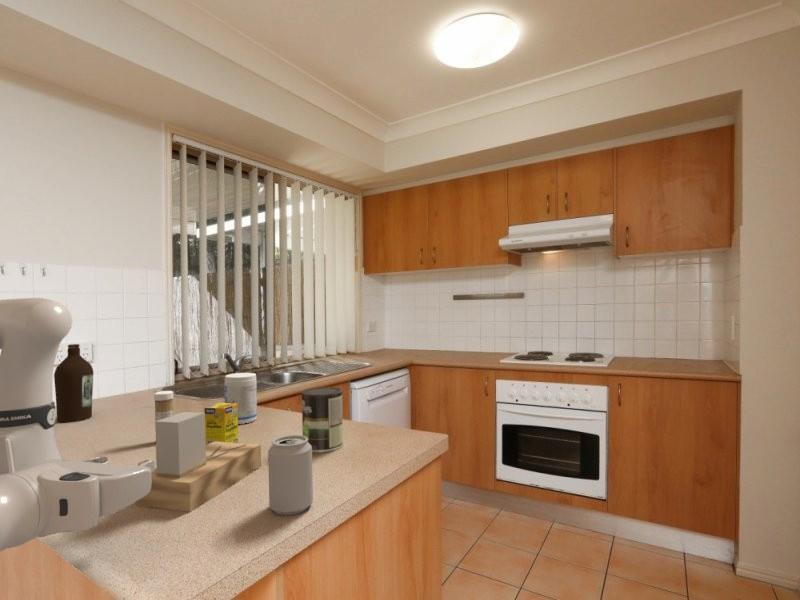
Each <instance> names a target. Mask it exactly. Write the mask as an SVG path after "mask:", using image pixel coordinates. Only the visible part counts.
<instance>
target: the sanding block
mask: <svg viewBox="0 0 800 600" xmlns="http://www.w3.org/2000/svg"><path fill="white" fill-rule="evenodd" d="M154 424H155V425H154V427H155V426H156V431H155V441H156V442H155V454H156V455H155V456H156V457H155V459H156V462H155V464H156V465H155V466H156V468H157V476H160V477H171V478H181V477H183V476H185V475H187V474H189V473H191V472H192V471H194V470H196V469H198V468H200V467H202V466H204V465H206V439H205V413H204V412H191V411H190V412H188V411H183V412H180V413H176V414H173V416H170V417H167V418H164V419H161V420H158V421H155V420H154Z"/></svg>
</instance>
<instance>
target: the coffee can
mask: <svg viewBox="0 0 800 600" xmlns="http://www.w3.org/2000/svg"><path fill="white" fill-rule="evenodd" d="M300 393H301V394H300V395H301V415H302V416H301V421H302V424H301V425H302V436H305V437H307V438H308V441H307V442H308V443H309V444H310V445H311V446H312V454H313V453H316V454H323V453H331V452H334V451H337V450H339V449H341V448H343V446H344V442H343V441H344V440H343V438H344V437H343V435H344V434H343V430H344V429H343V389H342V388H340V387H335V386H333V387H332V386H321V387H312V388H307V389H304V390H302V391H301V392H300Z"/></svg>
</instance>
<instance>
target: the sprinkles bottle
mask: <svg viewBox="0 0 800 600" xmlns="http://www.w3.org/2000/svg"><path fill="white" fill-rule="evenodd" d="M173 399H174V392H173V391H172V390H162V391H158V392H157V391H156V392H155V393H154V394H153V400H154V422H155V421H158V420H161V419H164V418H167V417H170V416H173V415H174V407H173V405H174V403H173V401H174V400H173ZM154 428H155V429H154V430H155V432H156V426H155V425H154ZM155 443H156V440H155Z"/></svg>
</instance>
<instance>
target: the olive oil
mask: <svg viewBox="0 0 800 600" xmlns="http://www.w3.org/2000/svg"><path fill="white" fill-rule="evenodd" d="M80 347H81V345H80V343H74V344H73V343H72V344H68V345H67V356H66V358H64V359H63V360H62V361H61V362H60V363H59V364H58V365H57V366H56V368H55V370H54V373H53V381H54V392H55V409H56V422H57V423H73V422H80V421H85V420H88V419H91V418H92V416H93V392H94V390H93V389H94V368H93V366H92V364H91V363H90V362H89V361H87V360H86V359H85V358H84V357H82V355H81V348H80Z"/></svg>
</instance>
